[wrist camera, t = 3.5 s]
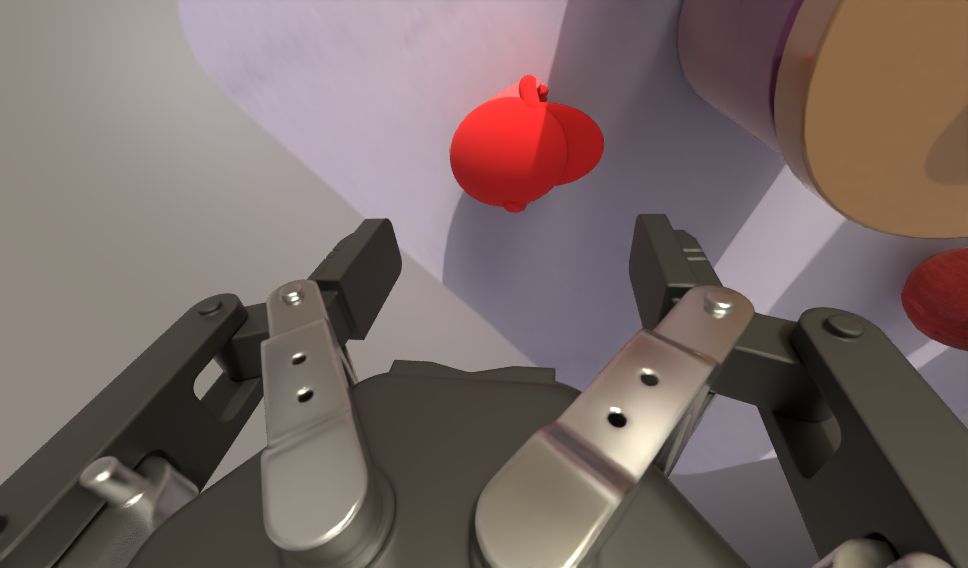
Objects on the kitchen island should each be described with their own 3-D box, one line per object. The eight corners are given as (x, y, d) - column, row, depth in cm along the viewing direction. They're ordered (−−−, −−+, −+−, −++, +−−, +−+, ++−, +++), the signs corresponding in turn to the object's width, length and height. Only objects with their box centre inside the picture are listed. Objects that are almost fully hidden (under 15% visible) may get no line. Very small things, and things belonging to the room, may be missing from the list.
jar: (653, 123, 21) (753, 252, 10) (697, -130, 15) (1016, -393, 5) (853, 112, 19) (1200, 252, 9) (990, -177, 13) (2455, -737, 3)
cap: (491, 204, 25) (477, 253, 20) (440, 123, 22) (411, 158, 18) (608, 146, 22) (623, 188, 17) (565, 41, 19) (570, 58, 14)
